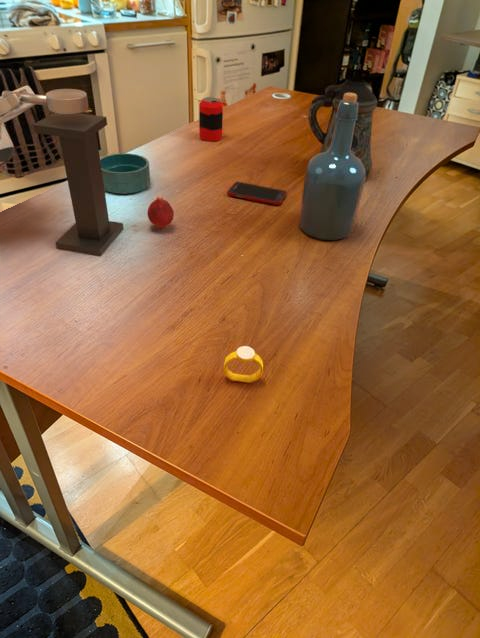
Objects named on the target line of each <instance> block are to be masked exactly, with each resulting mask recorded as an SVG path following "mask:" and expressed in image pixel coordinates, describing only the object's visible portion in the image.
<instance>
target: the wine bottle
mask: <svg viewBox="0 0 480 638" xmlns="http://www.w3.org/2000/svg"><path fill="white" fill-rule="evenodd" d="M358 104H359V103H358V102H357V95H356V94H355V93H345V94H344V97H343V99H342V100H341V101H340V103H339V107H338V110H337V113H336V114H337V115H336V116H335V117H336V122H335V127H334V131H333V136H332V140H331V145H330V148H328V149H327V151H322V152H320V151H319V152H320V153H319V152H318V153H317V154H316V155H314V156H313V157H311V158H310V159H309V161H308V162H307V164H306V167H305V172H304V173H305V174H304V179H303V187H302V193H301V199H300V205H299V206H300V207H299V212H298V226H299V228H300V230H301V231H302V232H304V233H305V234H306V235H307V236H310V237H312V238H315V239H319V240H322V241H323V240H324V241H338V240H341V239H346V238H347V237H348V236H349V235H350V234H352V232H353V231H354V228H355V225H356V220H357V217H358V212H359V207H360V205H361V200H362V196H363V192H364V188H365V187H364V186H365V183H366V180H367V178H366V171H365V168H364V166H363V163H362V161H361V160H360V159H359V158H358V157H356V156H355V153H354V152H353V151H352V150H351V145H352V139H353V133H354V128H355V122H356V120H357V114H358ZM365 179H366V180H365Z"/></svg>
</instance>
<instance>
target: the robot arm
mask: <svg viewBox="0 0 480 638" xmlns="http://www.w3.org/2000/svg"><path fill="white" fill-rule="evenodd" d="M12 92H15V93H13V94H11V95H9V96H8V97H6V98H3V97H2V95H0V166H2V165H4V164H6V163H8V162H10V160H11V159H12V157H13V156H14V152H15V146H14V143H13V140H12V139H11V137H10V135H9V134H10V133H8V131H7V129H6V125H5V124H4V123H6V122H8V121H11V120H12V119H14V118H16V117H18V116H19V115H21V114H23V113H24V112H26V111H28V110H29V109H31V108H33V107H34V106H36V105H37V104H31V103H24V102H23V99H22V97H20V94H19V93H18V92H20V93H28V94H35V92H34V91H33V89H32V88H31V86H30V85H24V86H21V87H19V88H17V89H14V90H12Z"/></svg>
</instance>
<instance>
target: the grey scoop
mask: <svg viewBox="0 0 480 638" xmlns="http://www.w3.org/2000/svg"><path fill="white" fill-rule="evenodd" d="M12 91H13V90H12ZM12 91H11V90H3V91H2V93H1V96H2V97H3V98H6V97H8V96H9V95H11V94H13V93H15V92H12ZM18 93H19V94H20V97H22V99H23V102H24V103H31V104H36V105H40V106H47V109H48V111H49V112H51V113H59V114H76V113H81V114H82V113H84V112H86V111H88V110H89V101H88V95H87V92H86V91H84V90H81V89H76V88H59V89H52V90H49V91H47V92H46V93H45V95H42V94H35V93H34V94H28V93H20V92H18Z"/></svg>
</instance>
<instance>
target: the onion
mask: <svg viewBox="0 0 480 638" xmlns="http://www.w3.org/2000/svg"><path fill="white" fill-rule="evenodd" d="M146 214H147V218H148V220H149V222H150V223H151V224H152V225H153V226H155V227H157V228H158V229H163V228H166V227H168V226H170V224H172V222H173V220H174V215H175V212H174V209H173V207H172V205H171V203H169V202H168V201H167V200H166V199H164V198H163V197H161V195H159V194H157V196H156V199H154V200H153V201H151V203H150V204H149V206H148V208H147V213H146Z"/></svg>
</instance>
